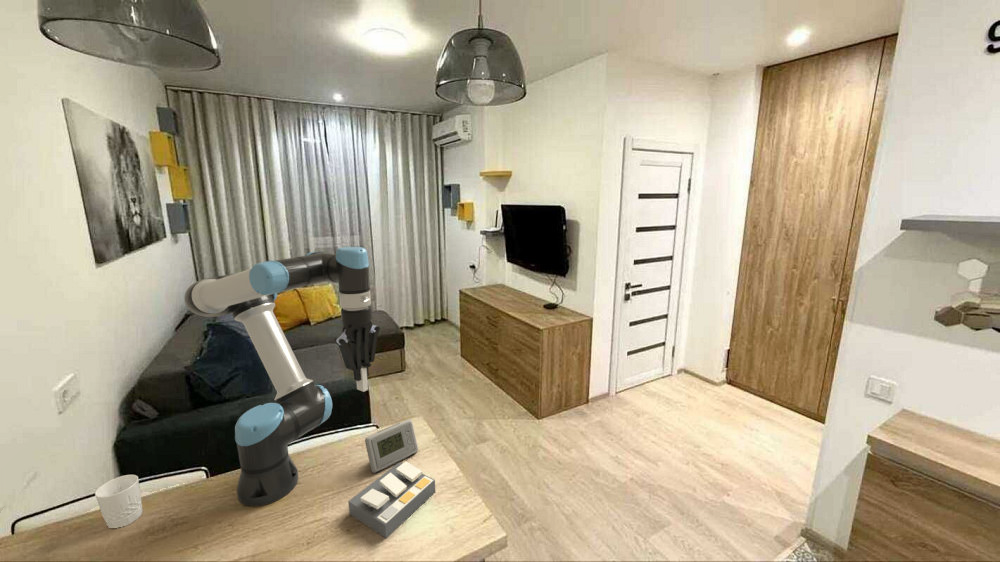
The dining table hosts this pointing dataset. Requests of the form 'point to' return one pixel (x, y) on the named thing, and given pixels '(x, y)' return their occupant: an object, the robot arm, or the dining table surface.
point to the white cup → (120, 501)
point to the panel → (392, 503)
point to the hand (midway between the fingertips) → (362, 389)
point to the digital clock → (391, 445)
